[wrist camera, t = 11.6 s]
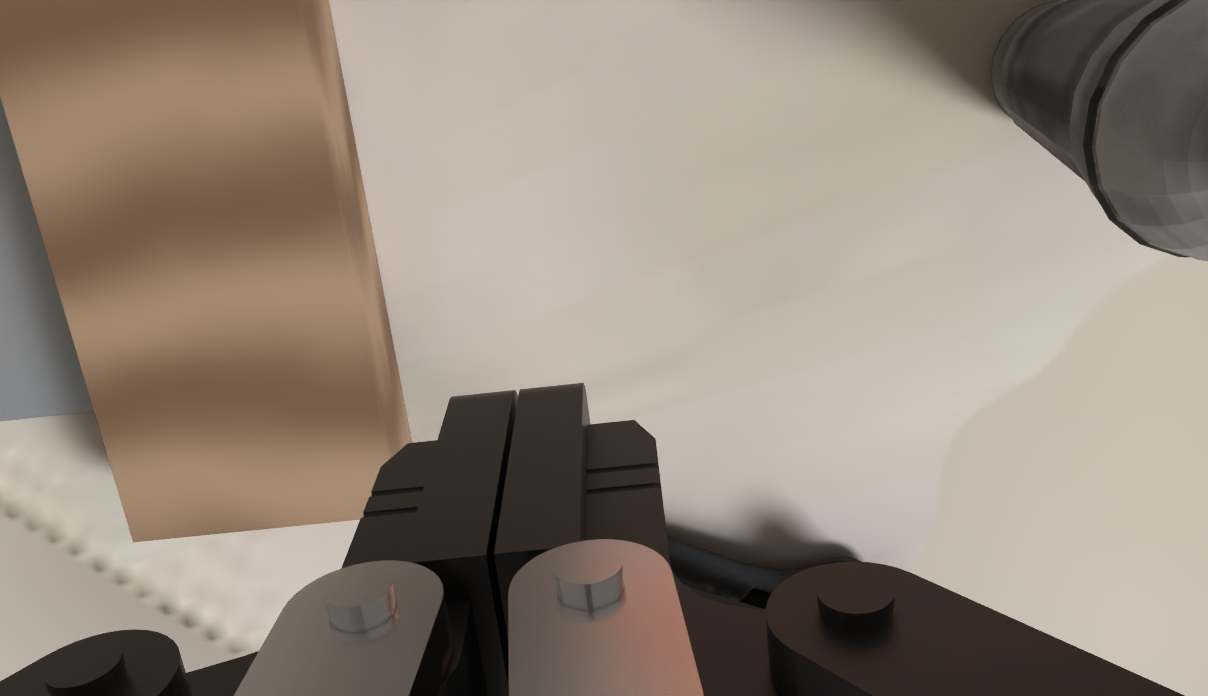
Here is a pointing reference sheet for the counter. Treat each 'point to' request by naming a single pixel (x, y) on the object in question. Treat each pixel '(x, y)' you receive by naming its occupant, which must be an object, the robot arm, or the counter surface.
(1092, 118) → the beverage cup
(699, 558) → the can opener
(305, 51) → the panel
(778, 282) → the counter surface
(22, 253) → the slate mat
